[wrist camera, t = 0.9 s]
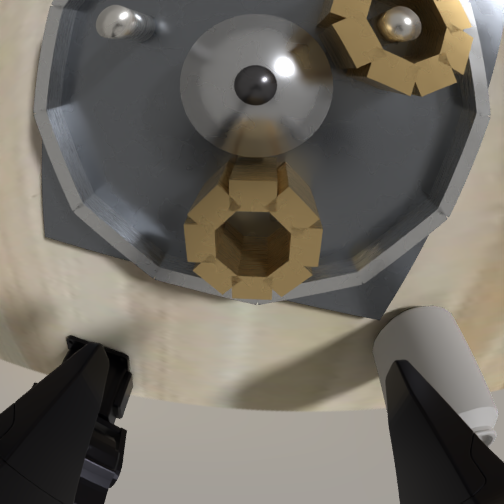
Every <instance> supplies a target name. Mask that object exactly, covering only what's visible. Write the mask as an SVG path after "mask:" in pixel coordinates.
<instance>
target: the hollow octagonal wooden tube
mask: <svg viewBox="0 0 504 504" xmlns="http://www.w3.org/2000/svg"><path fill="white" fill-rule="evenodd" d="M236 211H247V212H270V213H271V214H272V215H273V216H274V217H275V218H276V219H277V220H278V221H279V222H280V223H281V224H282V226H281V227H280V228H279V229H277V230H276V231H275V232H274V233H273V234H271V235H270V236H269V237H249V236H243V235H242V234H241V233H240V232H239V231H237V230H236V229H235V228H234V227H233V226H232V225H231V224H230V223H229V222H228V221H226V220H227V219H228V218H229V217H231V216H232V215H233V214H234V213H235V212H236ZM187 215H188V217H187V219H186V221H185V223H184V234H185V243H186V252H187V261H188V262H195V265H194V268H193V271H194V272H195V273H196V274H197V275H199V276H200V277H201V278H202V279H204V280H205V281H206V282H207V283H209V284H210V285H211V286H212V287H213V288H215V289H216V290H217V291H218V292H220V293H221V294H222V295H223V294H224V293H225V292H227V291H228V290H229V289H231V288H232V298H237V299H260V300H272V289H273V290H274V291H275V292H276V293H277V294H278V295H280V296H281V297H283V296H284V295H285V294H287V293H288V292H290V291H291V290H292V289H294V288H295V287H297V286H298V285H300V284H301V283H302V282H304V281H305V280H307V279H308V278H309V277H311V276H312V275H313V274H312V268H311V267H318V263H319V256H320V248H321V241H322V233H323V227H322V224H321V221H320V217H319V214H318V211H317V207H316V204H315V201H314V197H313V195H312V192H311V189H310V187H309V186H308V185H307V184H306V182H305V181H304V180H303V179H302V178H301V177H300V176H299V175H298V174H297V173H296V172H295V171H294V170H293V169H292V168H291V167H290V166H289V164H288V163H287V162H286V161H285V162H284V163H283V164H282V165H280V166H279V167H278V168H277V161H276V157H245V156H238V158H237V160H236V163H235V165H234V164H233V163H232V162H231V161H230V160H228V161H227V162H226V163H225V164H224V165H223V166H222V167H221V168H220V169H219V170H218V171H217V172H216V173H215V174H214V175H213V176H212V177H211V178H210V179H209V180H208V181H207V182H206V183H205V184H204V185H203V187H202V189H201V190H200V192H199V194H198V196H197V198H196V199H195V201H194V203H193V205H192V207H191V208H190V210H189V212H188V214H187Z"/></svg>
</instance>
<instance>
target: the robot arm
mask: <svg viewBox="0 0 504 504" xmlns="http://www.w3.org/2000/svg"><path fill="white" fill-rule="evenodd" d="M67 345H68V349H69V351H68V353H67V355H66V357H65V358H64V360H63V362H62V364H61V365H60V366H59V367H57V368H56V369H55V370H54V371H52V372H51V373H50V374H49V375H47V376H46V377H45V378H44V379H43V380H41V381H40V382H39V383H34V385H33V386H32V388H31V389H30V390H29V391H28V392H27V393H26V394H24V395H23V396H22V397H21V398H20V399H18V400H17V401H16V402H15V403H13V404H12V405H11V406H9V407H8V408H7V409H6V410H5V411H3V412H2V413H1V414H0V504H104V502H105V499H106V495H107V491H108V488H111V487H112V486H113V485H114V484H115V482H116V481H117V479H118V477H119V474H120V472H121V468H122V463H123V455H124V447H125V440H126V433H127V431H126V430H125V429H123V428H119V427H118V426H115V425H114V422H115V419H116V418H119V419H120V418H122V417H123V414H124V411H125V408H126V405H127V402H128V399H129V397H130V394H131V391H132V388H133V381H132V373H131V372H130V370H129V357H128V356H127V355H126V354H123V353H120V352H117V351H114V350H111V349H108V348H105V347H103V345H102V344H100V343H94V342H87V341H85V340H82V339H79V338H76V337H74V336H68V338H67ZM385 386H386V398H387V411H388V424H389V431H390V437H391V443H392V449H393V455H394V462H395V468H396V475H397V483H398V490H399V499H400V504H504V463H503V461H502V460H500V459H499V458H498V457H497V456H496V455H495V454H494V453H493V452H492V451H491V450H490V449H489V448H488V447H487V446H486V445H485V443H484V442H483V441H482V440H481V439H480V438H479V437H478V436H477V435H476V434H475V433H473V430H472V429H471V428H470V427H469V426H468V425H467V424H466V423H465V421H464V420H463V419H462V418H461V417H460V416H459V415H458V414H457V413H456V412H455V410H454V409H453V408H452V407H451V406H450V405H449V404H448V403H447V402H446V401H445V400H444V398H443V397H442V396H441V395H440V394H439V393H438V392H437V391H436V390H435V389H434V388H433V387H432V386H431V384H430V383H429V382H428V381H427V380H426V379H425V378H424V377H423V376H422V375H421V374H420V373H419V372H418V371H417V370H416V369H415V368H414V366H413V365H412V364H411V363H410V362H409V361H408V360H405V359H402V360H395V361H394V362H393V363H392V365H391V367H390V369H389V371H388V373H387V375H386V379H385Z"/></svg>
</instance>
